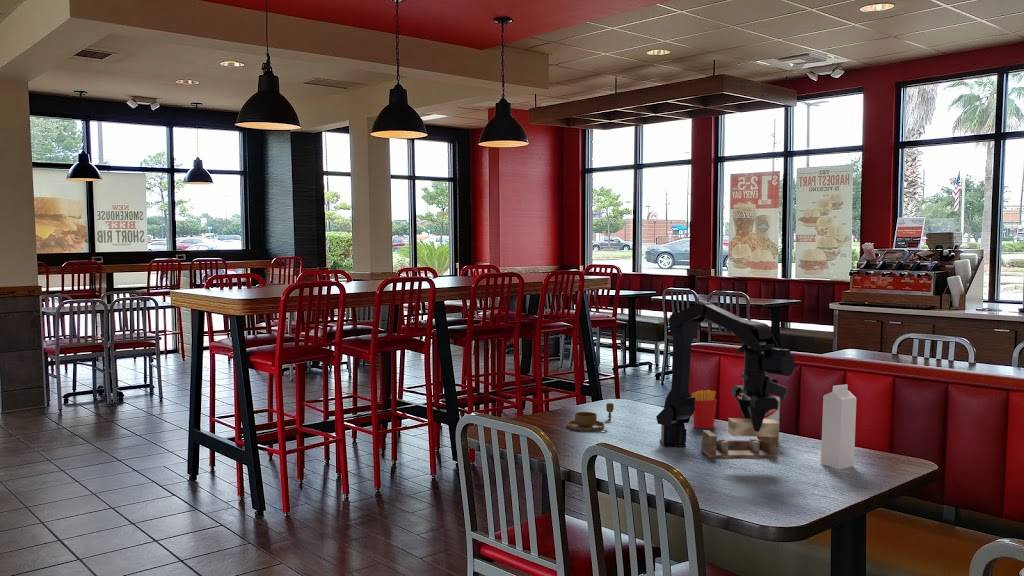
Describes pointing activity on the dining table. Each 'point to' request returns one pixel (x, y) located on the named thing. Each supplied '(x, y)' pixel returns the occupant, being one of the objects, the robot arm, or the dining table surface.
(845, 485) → the dining table surface
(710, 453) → the frame
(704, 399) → the french fries
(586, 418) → the place setting
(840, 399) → the milk
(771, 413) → the beer can
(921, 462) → the dining table surface
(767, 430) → the board
